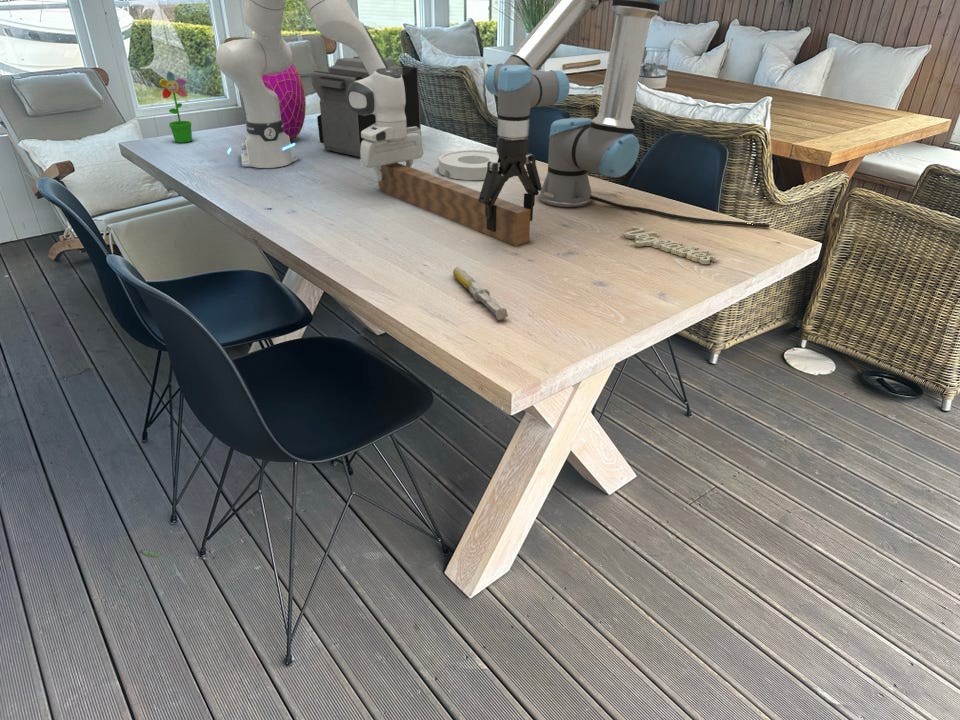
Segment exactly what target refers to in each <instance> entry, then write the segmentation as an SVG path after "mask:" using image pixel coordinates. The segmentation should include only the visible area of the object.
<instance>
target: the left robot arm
mask: <svg viewBox="0 0 960 720" xmlns="http://www.w3.org/2000/svg"><path fill="white" fill-rule="evenodd" d="M286 1H287V0H245V2H244V8H243V20H244V22H245V24H246V26H247V27H248V28H249V29H250V30H251V31H252V32H253V36H252V37H251V38H243V39H233V40H230V41H226V42H224V43H221V44H219V45H218V47H217V49H216V52H215V60H216V65H217V67H218V69H219V70H220V72H221V73H222V74H223V75H224V76H226V77H227V78H228V79H230V80H231V81H232V82H233V83H234V84H235V86H236V88H237V89H238V91H239V93H240V95H241V98H242V102H243V107H244V112H245V117H246V121H245V128H246V133H247V134H246V137H245V140H244V142H240V148H241V151H243V153H241V154H240V157H241V167H243V168H244V167H245V168H247V167H249V168H257V169H272V168H273V169H274V168H280V167H285V166H288V165H290V164H292V163H294V162H297V161H298V156H296V155H294V154H293V150H292V147H294V146H296V142H293V143H291V140H290V138H289V136H288V135H286V134H285V133H284V124H283V120H282V119H281V114H280V106H279V98H278V96H277V94H276V93H275V92H274V91H272V90H271V89H269V88H266V86H265V85H264V83H263V80H262V75H269V74H276V73H279V72H282V71H284V70H286V69H288V68H289V67H290V66H291V63H293V51H292V49H291V47H290V45H289V44H288V42H287V41H286V40H285V39H284V38H283V35H282V24H283V17H284V11H285V6H286ZM304 3H305V5H306V7H307V10H308V12H309V14H310V17H311V19H312V22H313V24H314V26H315V28H316V29H317V30H318V32H319V33H320V34H321V35H322V36H323V37H325V38H326V39H328V40H330V41H332V42H336V43H339V44H342V45H345V46H347V47H348V48H350V49H351V50H353V51H354V52H355V53H356V54H357V56H359V57H360V59H361V61H362V62H363V64H364V66H365V68H366V70H367V72H368V73H369V75H370V76H368V77H366V78H364V79H361V80H358V81H355V82H353V83H351V84H350V85H349V87H348V89H347V102H348V105H349V107H350V108H351V110H352V111H353V112H354V113H356V114H357V115H369V114H374V115H375V117H376V123H374V124H373V125H371V126H370V127H368V128H366V129H364V130H363V131H361V137H362V138H364V140H363V141H362V142H361V148H360V154H361V157H360V163H361V164H362V165H363V167H366V168H369V169H373V170H374V172H375V174H376V178H377V181H378V182H379V181H382V180H385V178H384V177H385V174H382V173H381V172H380V170H379V169H381V166H382V165H387V164H392V163H402V162H405V163H406V164H405V166H408V167H411V168H412V166H413V164H414V160H418V159H421V158H422V157H423V155H424V147H423V146H424V145H423V140H422V129H421V130H420V129H419V128H418V127H417V126H413V127H407V123H406V115H405V105H406V98H405V87H404V81H403V78H402V75H401V74H400V73H399V72H398V71H396V70H393V69H389V68H388V66H387V64H386V62H385V60H384V59H383V58H384V57H383V55H382V52H381V51H380V49H379V48H378V46H377V43H376V42H375V39H374V38H373V36H372V35H371V33H370V31H369V30H368V28H367V27H366V25H364V23H362V21H361V20H360V19H359V18H358V17H357V15H356V13H355V12H354V11H353V9H352V8H351V6H350V3H349V1H348V0H304ZM231 152H232V147H229V148H228V150H227V152H226V153H227V155H230V153H231Z"/></svg>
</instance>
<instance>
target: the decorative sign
mask: <svg viewBox="0 0 960 720" xmlns="http://www.w3.org/2000/svg"><path fill="white" fill-rule="evenodd" d="M624 238H626V239H629V240H630V239H631V240H634V247H636V248H639V247H653V248H655V249H660V250H661V251H663V252H667V253H671V254H673V255H677V256H679V257H685V259H687V260H691V261H693V262H696V263H697V262H698V263H700V264H702V265H709V264H710V261H711V262H712V263H715V262H716V258H717V257H716V256H715V255H711V254H710V250H709V249H700V247H699V246H697V245H696V246H686V247H685V246H684V245H683V243H682V242H681V241H677V240H676V241H675V240H673V239H667V240H666V239H662V238H658V237H657V232H656V231H645V228H643V227H639V226H631V229H630V231H625V234H624ZM709 254H710V255H709Z"/></svg>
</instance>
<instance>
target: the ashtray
mask: <svg viewBox="0 0 960 720" xmlns="http://www.w3.org/2000/svg"><path fill="white" fill-rule="evenodd" d="M498 158H499V156H498V153H497V151H492V150H484V149H462V150H454V151H449V152H445V153H442V154H440V156H439V157H438V172H439V173H440V175H442V176H445V177H450V179H456V180H461V181H484V180H485V177H486V173H487V164H488V162H489V161H490V162H497V161H498ZM498 169H499V168H498ZM501 175H502V174H501ZM502 176H503V175H502Z"/></svg>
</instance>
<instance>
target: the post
mask: <svg viewBox="0 0 960 720" xmlns="http://www.w3.org/2000/svg"><path fill="white" fill-rule="evenodd" d="M379 170H380V172H381V173H382V174H385V177H384V178H385V180H382V181H379V180H378V191H380V192H382V193H384V194H387V195H390V196H392V197H394V198H397V199H398V200H402V201H404V202H406V203H409V204H412V205H413V206H416V207H419V208H420V209H421V208H422V209H423V210H426V211H429V212H431V213H434V214H436V215H438V216H440V217H443V218H446V219H448V220H451V221H453V222H456V223H458V224H460V225H463V226H465V227H468V228H470V229H473V230H475V231H478V232H480V233H482V234H485V235H486V236H489V237H492V238H495V239H497V240H500V241H502V242H505V243H507V244H509V245H511V246H515V247H518V246H521V245H524V244H528V243H529V242H530V231H531V230H530V229H531V221H530V212H531V210H530V209H528V208H525V207H524V206H522V205H519V204H517V203H513V202H510V201H508V200H504V199H502V198H499V197H497V199H496V201H495V203H494V205H497V212H496V231H495V232H493V231H490V230H488V229H487V218H486V217H485V204H482V203H479V202H478V199H479V196H480V193H481V191H479V190H476V189H473V188H470V187H467V186H465V185H462V184H459V183H456V182H453V181H450V180H448V179H446V178H442V177H439V176H436V175H434V174H430V173H428V172H425V171H422V170H419V169H416V168H413V167H412V166H411V167H408V166H406V164H402V163H400V162H398V163H392V164H387V165H382V166H381V169H379ZM490 200H491V199H490Z"/></svg>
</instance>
